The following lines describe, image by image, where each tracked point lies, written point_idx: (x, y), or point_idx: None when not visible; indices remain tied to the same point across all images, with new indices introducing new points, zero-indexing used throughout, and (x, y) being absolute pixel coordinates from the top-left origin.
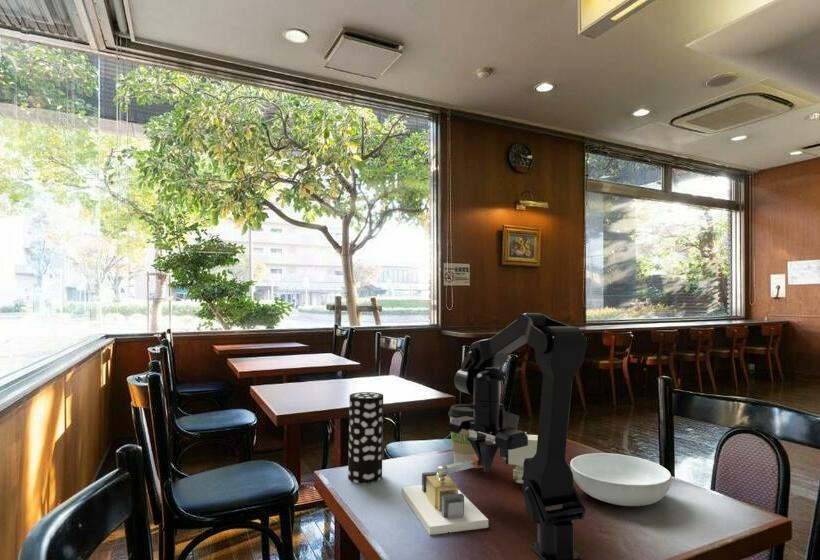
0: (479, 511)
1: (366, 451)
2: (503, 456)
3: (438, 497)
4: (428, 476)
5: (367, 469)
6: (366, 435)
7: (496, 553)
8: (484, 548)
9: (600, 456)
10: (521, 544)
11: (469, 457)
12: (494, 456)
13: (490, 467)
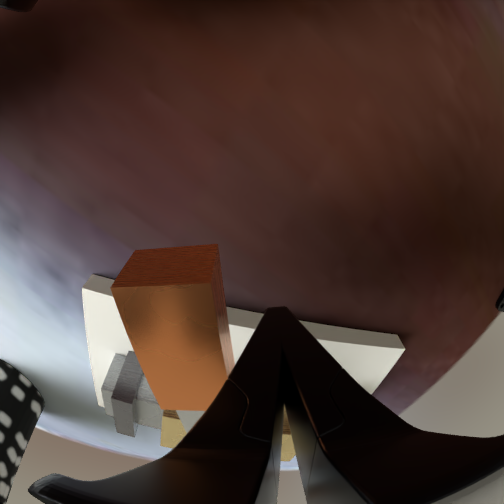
0: (356, 345)
1: (20, 456)
2: None
3: None
4: (162, 443)
5: (32, 423)
6: (9, 486)
7: (454, 364)
8: (432, 375)
9: None
10: (479, 311)
11: None
12: (347, 372)
13: (297, 320)
